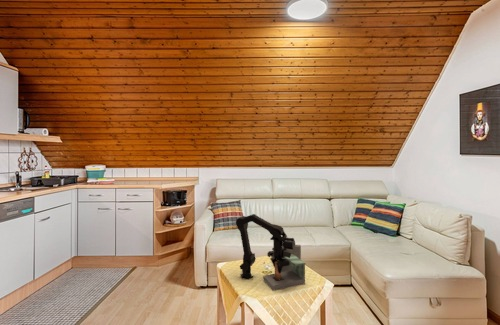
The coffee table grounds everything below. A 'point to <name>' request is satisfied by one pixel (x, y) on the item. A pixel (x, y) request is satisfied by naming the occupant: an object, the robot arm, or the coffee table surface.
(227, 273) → the coffee table surface
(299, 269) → the awning
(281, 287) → the socket deck
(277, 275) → the peg
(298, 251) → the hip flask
